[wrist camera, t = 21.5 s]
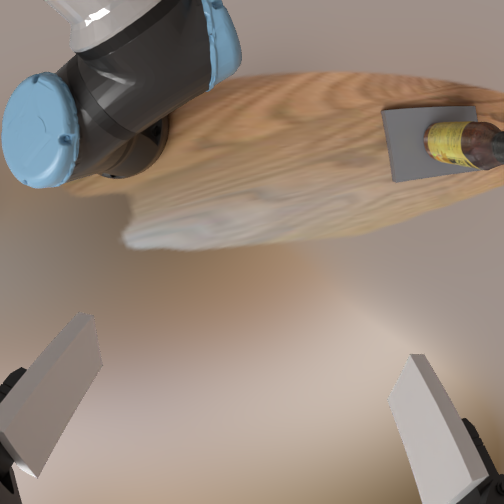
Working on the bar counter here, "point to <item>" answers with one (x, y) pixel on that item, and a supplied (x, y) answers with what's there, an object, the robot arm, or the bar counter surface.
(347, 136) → the bar counter surface
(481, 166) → the sauce bottle
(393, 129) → the gray rectangular mat
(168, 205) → the bar counter surface
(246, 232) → the bar counter surface
